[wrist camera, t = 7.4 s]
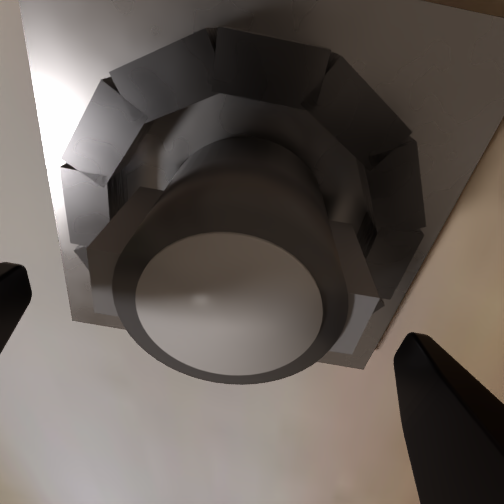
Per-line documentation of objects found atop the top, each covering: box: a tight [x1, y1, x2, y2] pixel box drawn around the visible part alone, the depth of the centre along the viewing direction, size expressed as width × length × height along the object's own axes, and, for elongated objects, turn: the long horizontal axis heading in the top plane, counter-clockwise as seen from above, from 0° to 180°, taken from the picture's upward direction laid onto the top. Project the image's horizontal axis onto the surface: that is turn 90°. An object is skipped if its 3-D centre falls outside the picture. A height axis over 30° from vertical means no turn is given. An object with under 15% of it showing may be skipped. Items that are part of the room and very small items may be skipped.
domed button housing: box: [86, 137, 380, 385], centre depth 10 cm, size 7×6×5 cm
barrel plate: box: [19, 0, 504, 369], centre depth 12 cm, size 14×14×3 cm
